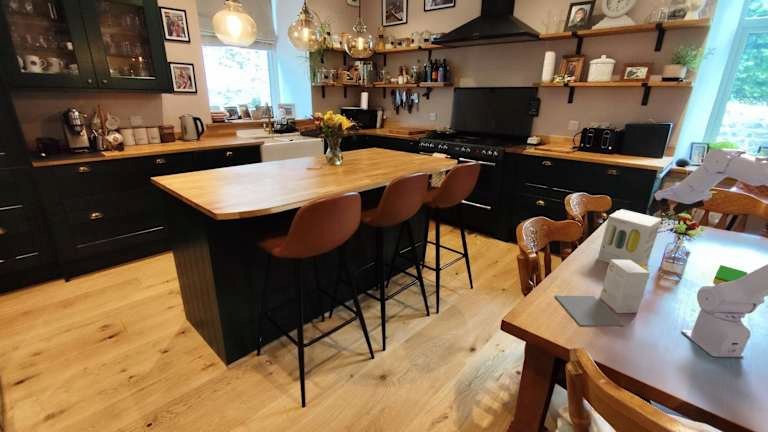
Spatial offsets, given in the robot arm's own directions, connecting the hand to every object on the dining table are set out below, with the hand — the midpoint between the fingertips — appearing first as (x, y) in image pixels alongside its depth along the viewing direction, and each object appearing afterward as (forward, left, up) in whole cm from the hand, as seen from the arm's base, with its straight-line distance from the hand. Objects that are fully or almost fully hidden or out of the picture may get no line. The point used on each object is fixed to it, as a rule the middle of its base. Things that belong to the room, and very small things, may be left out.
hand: (662, 211), depth 107 cm
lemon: (+1, +1, -26) cm, 26 cm away
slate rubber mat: (-13, +25, -26) cm, 38 cm away
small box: (-10, +14, -26) cm, 31 cm away
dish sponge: (+6, -36, -26) cm, 45 cm away
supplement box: (+19, -7, -26) cm, 33 cm away
